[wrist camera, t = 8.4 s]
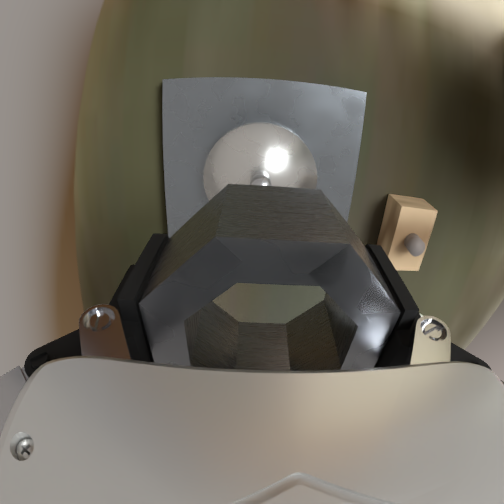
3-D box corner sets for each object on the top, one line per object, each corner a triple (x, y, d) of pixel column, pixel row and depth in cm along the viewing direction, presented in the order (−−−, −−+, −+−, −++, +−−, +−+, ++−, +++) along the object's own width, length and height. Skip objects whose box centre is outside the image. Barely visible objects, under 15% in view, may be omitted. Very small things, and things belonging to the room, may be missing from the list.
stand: (406, 254, 29) (424, 279, 25) (374, 253, 29) (388, 278, 25) (422, 198, 26) (445, 217, 22) (388, 193, 26) (408, 212, 22)
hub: (335, 258, 29) (346, 285, 25) (172, 250, 29) (161, 277, 25) (362, 92, 21) (383, 94, 17) (166, 79, 21) (148, 78, 17)
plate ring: (337, 342, 13) (351, 405, 10) (181, 336, 13) (166, 400, 10) (379, 195, 10) (425, 248, 7) (164, 182, 9) (124, 233, 6)
